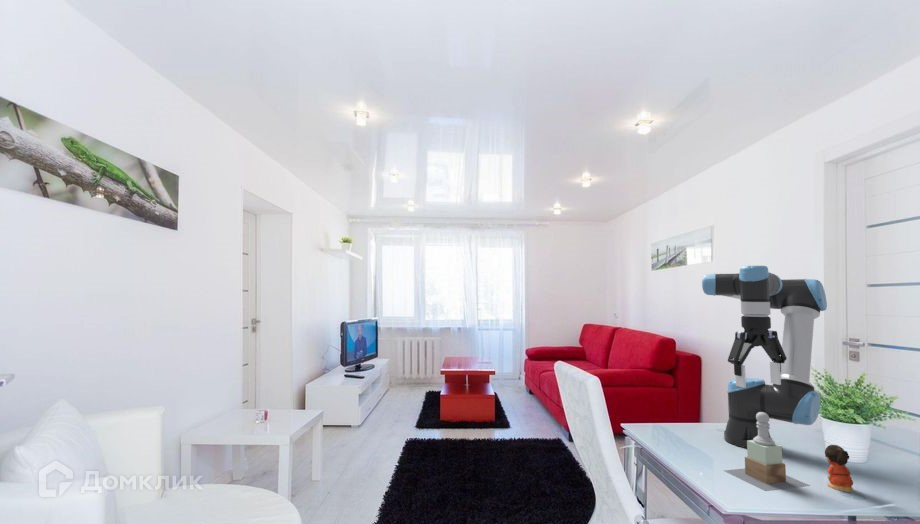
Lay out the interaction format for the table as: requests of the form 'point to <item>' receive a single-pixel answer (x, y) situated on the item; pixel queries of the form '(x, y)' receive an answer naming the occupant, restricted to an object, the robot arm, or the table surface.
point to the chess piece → (763, 430)
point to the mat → (766, 487)
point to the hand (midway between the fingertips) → (758, 385)
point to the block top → (764, 453)
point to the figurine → (838, 469)
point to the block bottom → (765, 471)
